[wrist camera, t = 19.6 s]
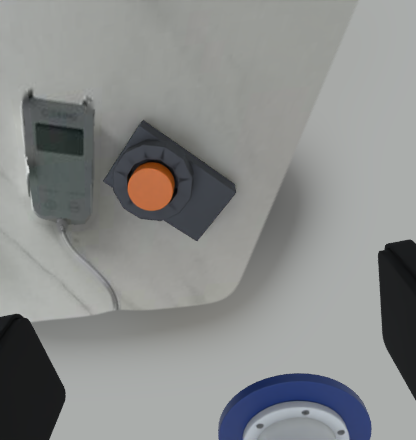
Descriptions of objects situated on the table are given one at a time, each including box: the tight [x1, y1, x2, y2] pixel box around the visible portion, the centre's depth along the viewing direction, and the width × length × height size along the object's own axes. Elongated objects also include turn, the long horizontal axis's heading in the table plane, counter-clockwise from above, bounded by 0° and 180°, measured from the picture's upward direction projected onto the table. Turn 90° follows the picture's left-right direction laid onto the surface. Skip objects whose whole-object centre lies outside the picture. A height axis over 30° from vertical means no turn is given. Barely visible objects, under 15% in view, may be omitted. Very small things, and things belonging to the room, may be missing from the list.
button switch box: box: [103, 120, 236, 241], centre depth 35 cm, size 10×6×4 cm, turn 54°
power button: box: [128, 162, 175, 211], centre depth 32 cm, size 4×4×2 cm
